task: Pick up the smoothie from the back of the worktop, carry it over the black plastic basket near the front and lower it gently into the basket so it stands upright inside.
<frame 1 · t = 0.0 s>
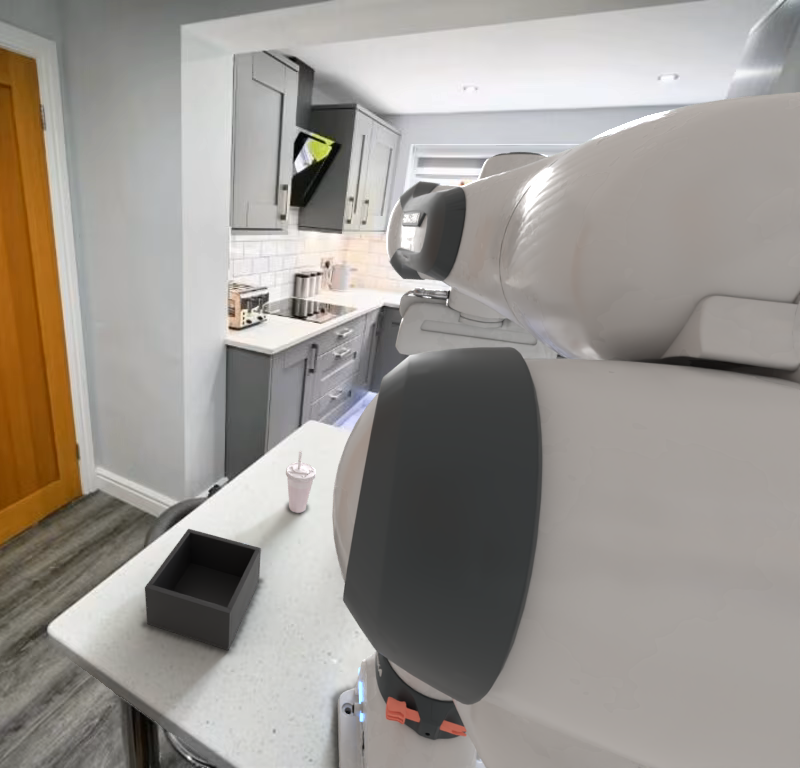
hand: (460, 389, 63), 39 cm above the counter, tool pointing down, fingers open, 8 cm apart
smoothie: (297, 508, 96), on the counter
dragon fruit: (377, 504, 100), on the counter
basket: (206, 601, 72), on the counter
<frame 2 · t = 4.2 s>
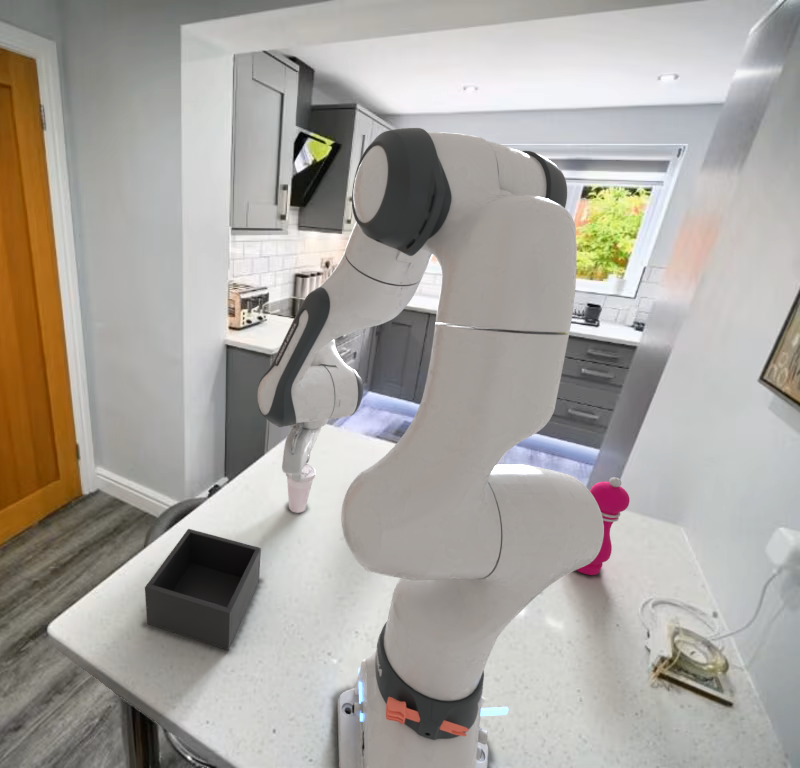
hand: (300, 469, 93), 10 cm above the counter, tool pointing down, fingers closed on smoothie, 6 cm apart
smoothie: (297, 508, 96), on the counter, touching gripper
everything else where it was.
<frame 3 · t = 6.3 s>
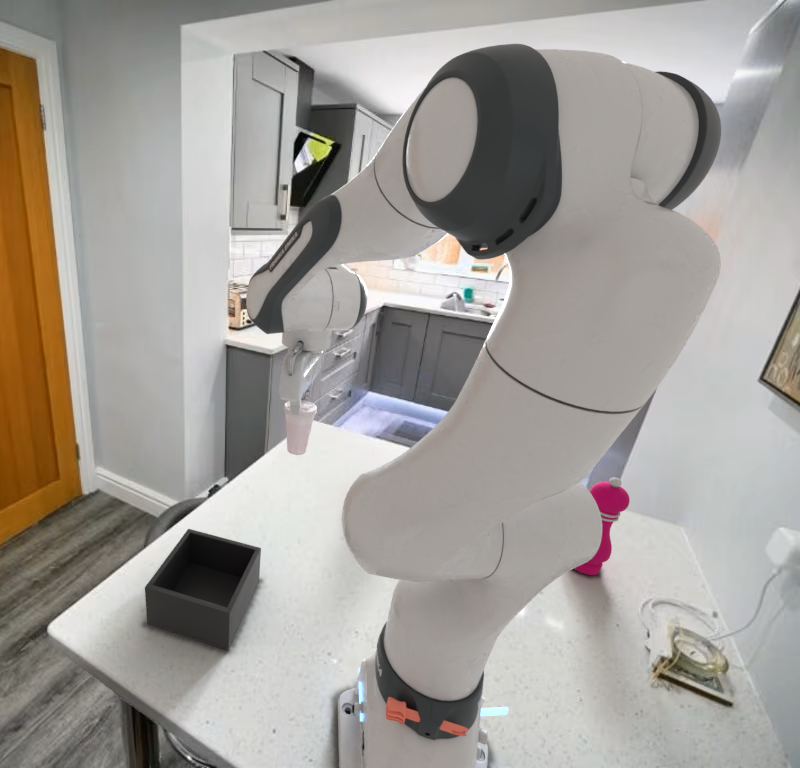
hand: (300, 405, 83), 26 cm above the counter, tool pointing down, fingers closed on smoothie, 6 cm apart
smoothie: (296, 451, 87), point 16 cm above the counter, touching gripper
everything else where it was.
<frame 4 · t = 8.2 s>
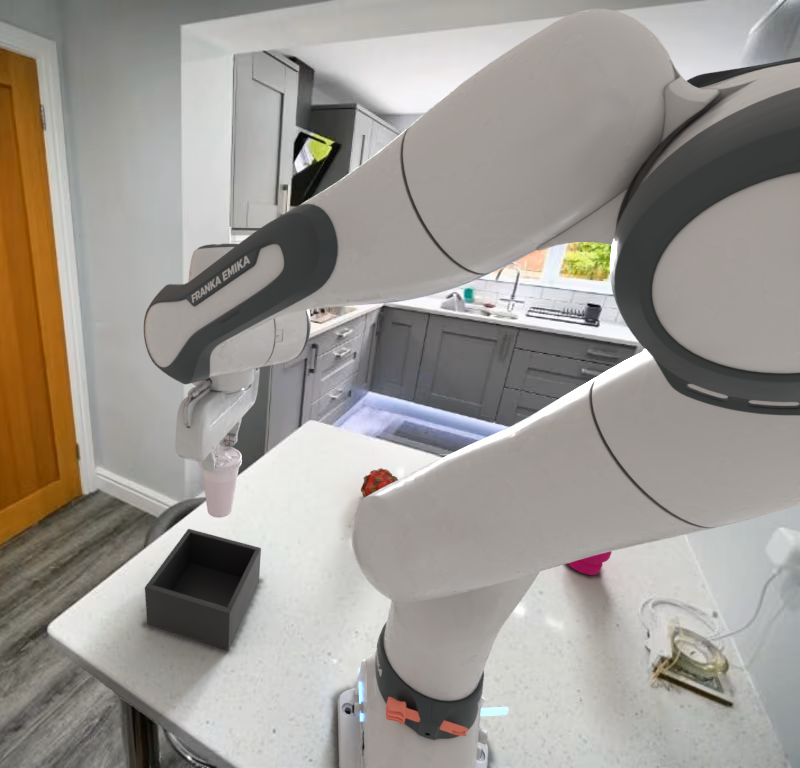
hand: (220, 455, 64), 27 cm above the counter, tool pointing down, fingers closed on smoothie, 6 cm apart
smoothie: (219, 510, 68), point 17 cm above the counter, touching gripper
everything else where it was.
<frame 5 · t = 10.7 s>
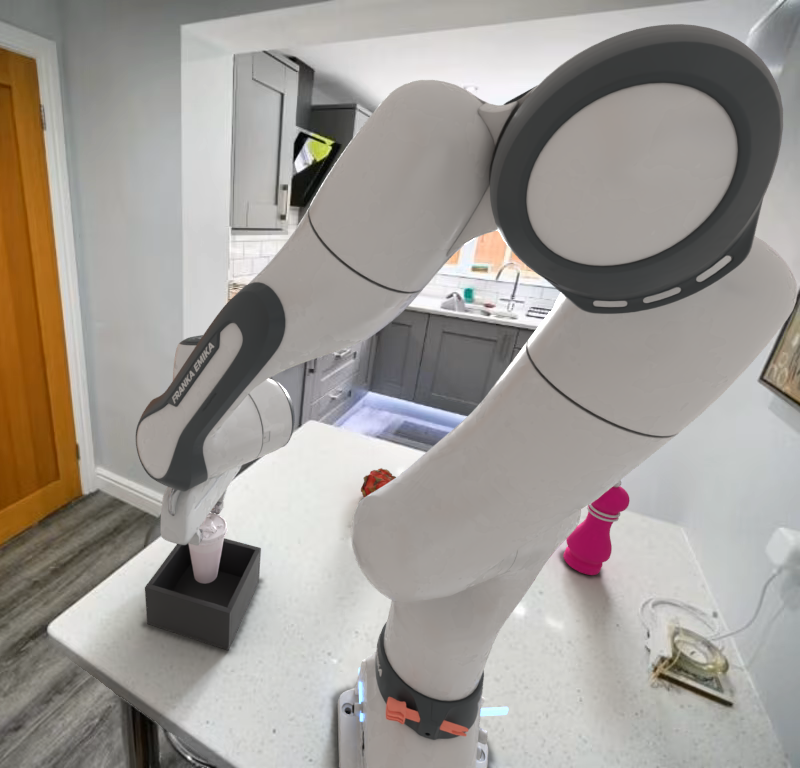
hand: (206, 525, 66), 16 cm above the counter, tool pointing down, fingers closed on smoothie, 6 cm apart
smoothie: (205, 575, 70), point 6 cm above the counter, touching gripper
everything else where it was.
when the fingers open (10 cm above the counter, at t = 12.7 s): smoothie stays where it is, resting on basket.
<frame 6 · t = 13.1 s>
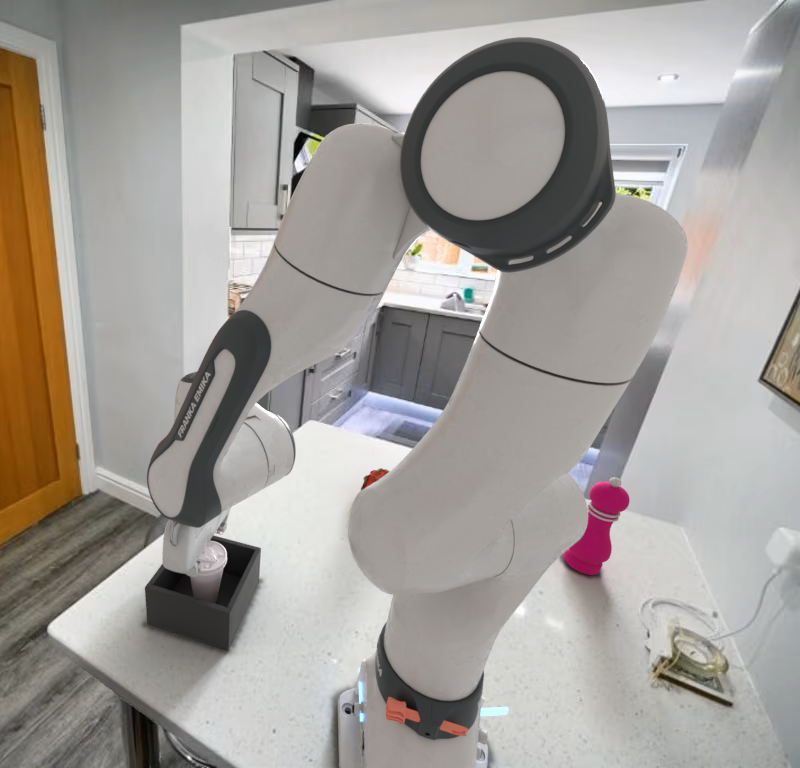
hand: (207, 550, 68), 11 cm above the counter, tool pointing down, fingers open, 8 cm apart
smoothie: (205, 599, 72), resting on basket
everything else where it was.
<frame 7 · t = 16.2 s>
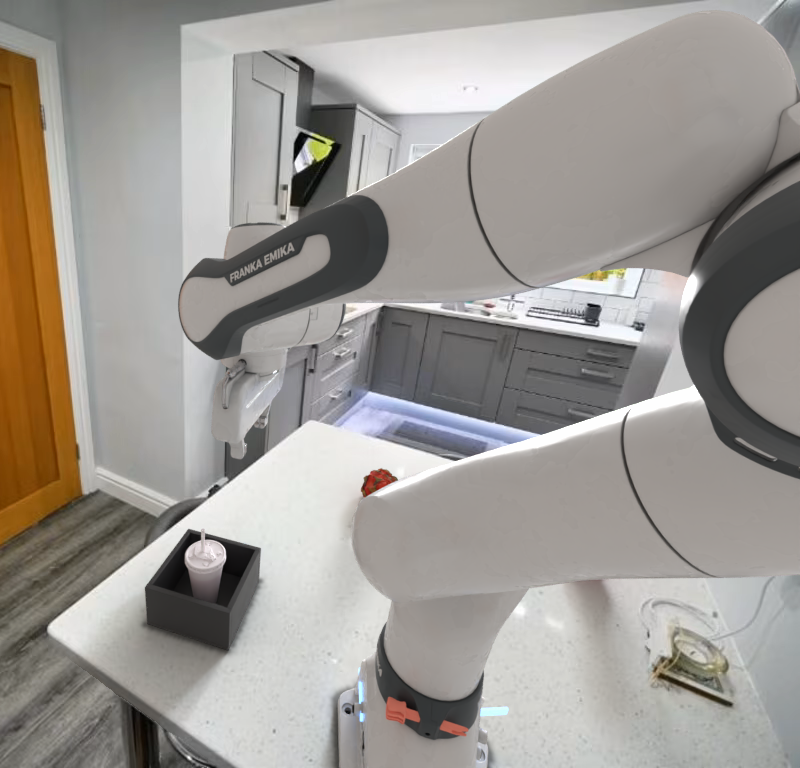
hand: (250, 440, 64), 29 cm above the counter, tool pointing down, fingers open, 8 cm apart
nothing on the counter moved.
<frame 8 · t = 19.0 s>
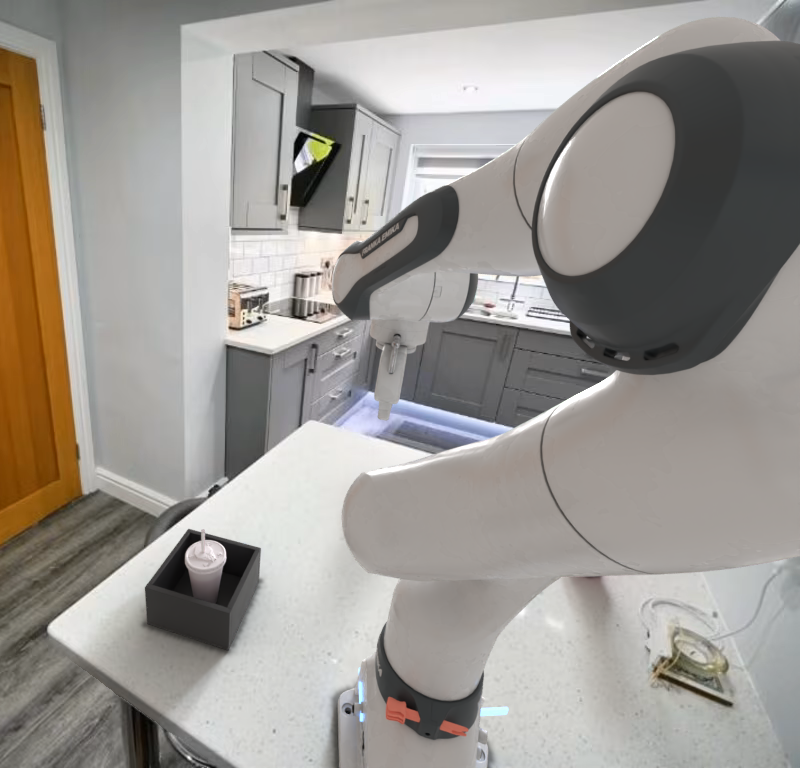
hand: (385, 406, 74), 31 cm above the counter, tool pointing down, fingers open, 8 cm apart
nothing on the counter moved.
at the end: smoothie inside the target area in the basket (0.2 cm from its centre), point 0.4 cm above the basket's base; smoothie tilted 0°; the gripper is holding nothing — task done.
